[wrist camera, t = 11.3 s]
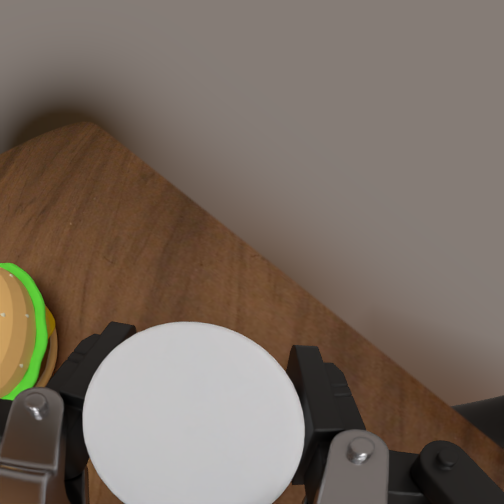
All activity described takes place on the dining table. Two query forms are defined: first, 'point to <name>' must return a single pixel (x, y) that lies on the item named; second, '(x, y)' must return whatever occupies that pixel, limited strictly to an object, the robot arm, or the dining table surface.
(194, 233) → the dining table surface
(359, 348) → the dining table surface
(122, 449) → the pill bottle
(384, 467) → the robot arm
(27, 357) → the hamburger
